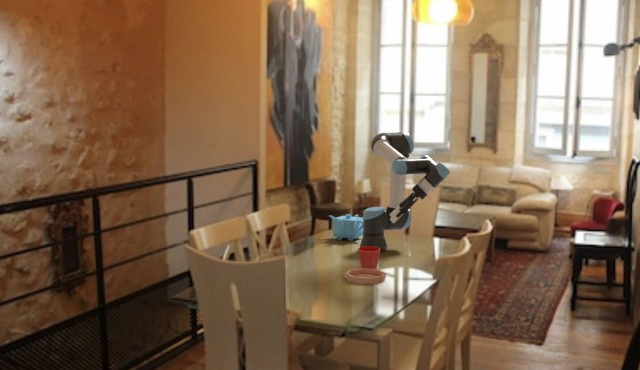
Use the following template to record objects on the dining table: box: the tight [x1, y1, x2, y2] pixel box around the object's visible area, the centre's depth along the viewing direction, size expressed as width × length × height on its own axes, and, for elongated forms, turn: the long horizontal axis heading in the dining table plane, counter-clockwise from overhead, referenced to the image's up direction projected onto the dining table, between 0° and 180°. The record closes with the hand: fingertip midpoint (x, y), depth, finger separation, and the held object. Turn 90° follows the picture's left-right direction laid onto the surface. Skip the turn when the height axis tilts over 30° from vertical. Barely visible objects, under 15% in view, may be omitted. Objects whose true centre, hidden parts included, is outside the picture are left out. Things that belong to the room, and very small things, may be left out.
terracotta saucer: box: [344, 267, 387, 285], centre depth 316 cm, size 18×18×3 cm
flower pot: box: [357, 246, 381, 269], centre depth 337 cm, size 11×11×10 cm
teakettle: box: [329, 213, 363, 242], centre depth 405 cm, size 19×19×15 cm
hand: (391, 219), depth 333 cm, fingers open, 13 cm apart
